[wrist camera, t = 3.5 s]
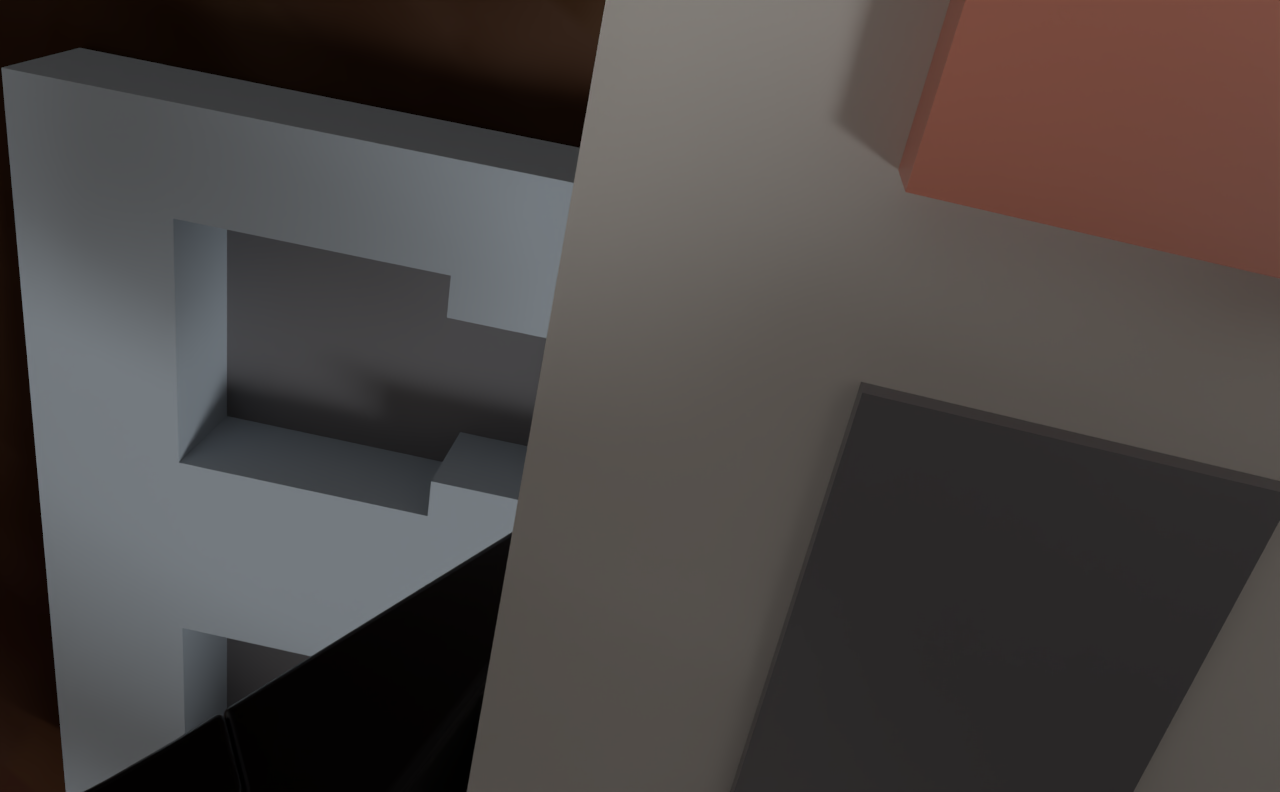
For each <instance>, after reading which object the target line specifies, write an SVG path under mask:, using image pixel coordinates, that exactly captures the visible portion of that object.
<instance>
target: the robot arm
mask: <svg viewBox="0 0 1280 792" xmlns="http://www.w3.org/2000/svg"><path fill="white" fill-rule="evenodd" d="M511 537H512V532H511V533H510V534H508V535H506V536H505V537H503V538H501V539H500V540H498V541H497V542H495V543H493V544H492V545H490V546H489V547H487V548H485V549H484V550H482V551H480V552H479V553H477V554H476V555H474V556H472V557H471V558H469V559H468V560H466V561H464V562H463V563H461V564H459V565H458V566H456V567H455V568H453V569H451V570H450V571H448V572H447V573H445V574H443V575H442V576H440V577H438V578H437V579H435V580H434V581H432V582H430V583H429V584H427V585H425V586H424V587H422V588H421V589H419V590H417V591H416V592H414V593H413V594H411V595H409V596H408V597H406V598H404V599H403V600H401V601H400V602H398V603H396V604H395V605H393V606H392V607H390V608H388V609H387V610H385V611H383V612H382V613H380V614H379V615H377V616H375V617H374V618H372V619H370V620H369V621H367V622H366V623H364V624H362V625H361V626H359V627H358V628H356V629H354V630H353V631H351V632H349V633H348V634H346V635H345V636H343V637H341V638H340V639H338V640H337V641H335V642H333V643H332V644H330V645H328V646H327V647H325V648H324V649H322V650H320V651H319V652H317V653H315V654H314V655H312V656H311V657H309V658H307V659H306V660H304V661H303V662H301V663H299V664H298V665H296V666H294V667H293V668H291V669H290V670H288V671H286V672H285V673H283V674H282V675H280V676H278V677H277V678H275V679H273V680H272V681H270V682H269V683H267V684H265V685H264V686H262V687H261V688H259V689H257V690H256V691H254V692H252V693H251V694H249V695H248V696H246V697H244V698H243V699H241V700H239V701H238V702H236V703H235V704H233V705H231V706H230V707H228V708H227V709H226V710H225V712H224V716H223V715H221V714H217V715H214V716H213V717H211V718H210V719H208V720H206V721H205V722H203V723H201V724H200V725H198V726H197V727H195V728H193V729H192V730H190V731H189V732H187V733H185V734H184V735H182V736H180V737H179V738H177V739H176V740H174V741H172V742H170V743H169V744H167V745H165V746H164V747H162V748H160V749H158V750H157V751H155V752H153V753H151V754H150V755H148V756H146V757H145V758H143V759H141V760H139V761H138V762H136V763H134V764H133V765H131V766H129V767H127V768H126V769H124V770H122V771H121V772H119V773H117V774H115V775H114V776H112V777H110V778H108V779H107V780H105V781H103V782H101V783H99V784H97V785H95V786H93V787H91V788H89V789H87V790H86V791H84V792H467V788H468V782H469V776H470V771H471V765H472V759H473V753H474V748H475V742H476V736H477V731H478V725H479V719H480V714H481V708H482V702H483V697H484V691H485V685H486V679H487V674H488V668H489V662H490V657H491V651H492V645H493V640H494V634H495V628H496V623H497V617H498V611H499V605H500V600H501V594H502V588H503V583H504V577H505V571H506V566H507V560H508V554H509V549H510V543H511Z"/></svg>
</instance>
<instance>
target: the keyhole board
mask: <svg viewBox="0 0 1280 792" xmlns="http://www.w3.org/2000/svg"><path fill="white" fill-rule="evenodd" d="M1 70H2V81H3V92H4V103H5V115H6V126H7V137H8V148H9V159H10V171H11V182H12V193H13V204H14V215H15V226H16V238H17V249H18V260H19V271H20V282H21V294H22V305H23V316H24V327H25V338H26V350H27V361H28V372H29V383H30V394H31V406H32V417H33V428H34V439H35V450H36V462H37V473H38V484H39V495H40V506H41V518H42V529H43V540H44V551H45V562H46V574H47V585H48V596H49V607H50V618H51V630H52V641H53V652H54V663H55V674H56V686H57V697H58V708H59V719H60V730H61V742H62V753H63V764H64V775H65V786H66V792H84V791H86V790H87V789H89V788H91V787H93V786H95V785H97V784H99V783H101V782H103V781H105V780H107V779H108V778H110V777H112V776H114V775H115V774H117V773H119V772H121V771H122V770H124V769H126V768H127V767H129V766H131V765H133V764H134V763H136V762H138V761H139V760H141V759H143V758H145V757H146V756H148V755H150V754H151V753H153V752H155V751H157V750H158V749H160V748H162V747H164V746H165V745H167V744H169V743H170V742H172V741H174V740H176V739H177V738H179V737H180V736H182V735H184V734H185V733H187V732H189V731H190V730H192V729H193V728H195V727H197V726H198V725H200V724H201V723H203V722H205V721H206V720H208V719H210V718H211V717H213V716H214V715H217V714H221V715H223V716H224V712H225V710H226V709H227V708H228V707H230V706H231V705H233V704H235V703H236V702H238V701H239V700H241V699H243V698H244V697H246V696H248V695H249V694H251V693H252V692H254V691H256V690H257V689H259V688H261V687H262V686H264V685H265V684H267V683H269V682H270V681H272V680H273V679H275V678H277V677H278V676H280V675H282V674H283V673H285V672H286V671H288V670H290V669H291V668H293V667H294V666H296V665H298V664H299V663H301V662H303V661H304V660H306V659H307V658H309V657H311V656H312V655H314V654H315V653H317V652H319V651H320V650H322V649H324V648H325V647H327V646H328V645H330V644H332V643H333V642H335V641H337V640H338V639H340V638H341V637H343V636H345V635H346V634H348V633H349V632H351V631H353V630H354V629H356V628H358V627H359V626H361V625H362V624H364V623H366V622H367V621H369V620H370V619H372V618H374V617H375V616H377V615H379V614H380V613H382V612H383V611H385V610H387V609H388V608H390V607H392V606H393V605H395V604H396V603H398V602H400V601H401V600H403V599H404V598H406V597H408V596H409V595H411V594H413V593H414V592H416V591H417V590H419V589H421V588H422V587H424V586H425V585H427V584H429V583H430V582H432V581H434V580H435V579H437V578H438V577H440V576H442V575H443V574H445V573H447V572H448V571H450V570H451V569H453V568H455V567H456V566H458V565H459V564H461V563H463V562H464V561H466V560H468V559H469V558H471V557H472V556H474V555H476V554H477V553H479V552H480V551H482V550H484V549H485V548H487V547H489V546H490V545H492V544H493V543H495V542H497V541H498V540H500V539H501V538H503V537H505V536H506V535H508V534H510V533H511V532H512V531H513V526H514V520H515V514H516V509H517V503H518V497H519V492H520V486H521V480H522V475H523V469H524V463H525V457H526V452H527V446H528V440H529V435H530V429H531V423H532V418H533V412H534V406H535V401H536V395H537V389H538V383H539V378H540V372H541V366H542V361H543V355H544V349H545V344H546V338H547V332H548V327H549V321H550V315H551V309H552V304H553V298H554V292H555V287H556V281H557V275H558V270H559V264H560V258H561V253H562V247H563V241H564V235H565V230H566V224H567V218H568V213H569V207H570V201H571V196H572V190H573V184H574V179H575V173H576V167H577V161H578V156H579V150H580V148H579V147H574V146H569V145H564V144H559V143H554V142H549V141H544V140H539V139H534V138H529V137H524V136H519V135H514V134H509V133H504V132H499V131H494V130H489V129H484V128H479V127H474V126H469V125H464V124H459V123H454V122H449V121H444V120H439V119H434V118H429V117H424V116H419V115H414V114H409V113H404V112H399V111H394V110H389V109H384V108H379V107H374V106H369V105H364V104H359V103H354V102H349V101H344V100H339V99H334V98H329V97H324V96H319V95H314V94H309V93H304V92H299V91H294V90H289V89H284V88H279V87H274V86H269V85H264V84H259V83H254V82H249V81H244V80H239V79H234V78H229V77H224V76H219V75H214V74H209V73H204V72H199V71H194V70H189V69H184V68H179V67H174V66H169V65H164V64H159V63H154V62H149V61H144V60H139V59H134V58H129V57H124V56H119V55H114V54H109V53H104V52H99V51H94V50H89V49H84V48H77V49H73V50H69V51H65V52H61V53H57V54H53V55H49V56H45V57H41V58H37V59H33V60H29V61H25V62H22V63H18V64H14V65H10V66H6V67H2V68H1Z"/></svg>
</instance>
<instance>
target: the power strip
mask: <svg viewBox="0 0 1280 792" xmlns="http://www.w3.org/2000/svg"><path fill="white" fill-rule="evenodd" d="M467 792H1280V0H606V2H605V8H604V13H603V19H602V25H601V31H600V36H599V42H598V48H597V53H596V59H595V65H594V70H593V76H592V82H591V87H590V93H589V99H588V105H587V110H586V116H585V122H584V127H583V133H582V139H581V144H580V150H579V156H578V161H577V167H576V173H575V179H574V184H573V190H572V196H571V201H570V207H569V213H568V218H567V224H566V230H565V235H564V241H563V247H562V253H561V258H560V264H559V270H558V275H557V281H556V287H555V292H554V298H553V304H552V309H551V315H550V321H549V327H548V332H547V338H546V344H545V349H544V355H543V361H542V366H541V372H540V378H539V383H538V389H537V395H536V401H535V406H534V412H533V418H532V423H531V429H530V435H529V440H528V446H527V452H526V457H525V463H524V469H523V475H522V480H521V486H520V492H519V497H518V503H517V509H516V514H515V520H514V526H513V531H512V537H511V543H510V549H509V554H508V560H507V566H506V571H505V577H504V583H503V588H502V594H501V600H500V605H499V611H498V617H497V623H496V628H495V634H494V640H493V645H492V651H491V657H490V662H489V668H488V674H487V679H486V685H485V691H484V697H483V702H482V708H481V714H480V719H479V725H478V731H477V736H476V742H475V748H474V753H473V759H472V765H471V771H470V776H469V782H468V788H467Z"/></svg>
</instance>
